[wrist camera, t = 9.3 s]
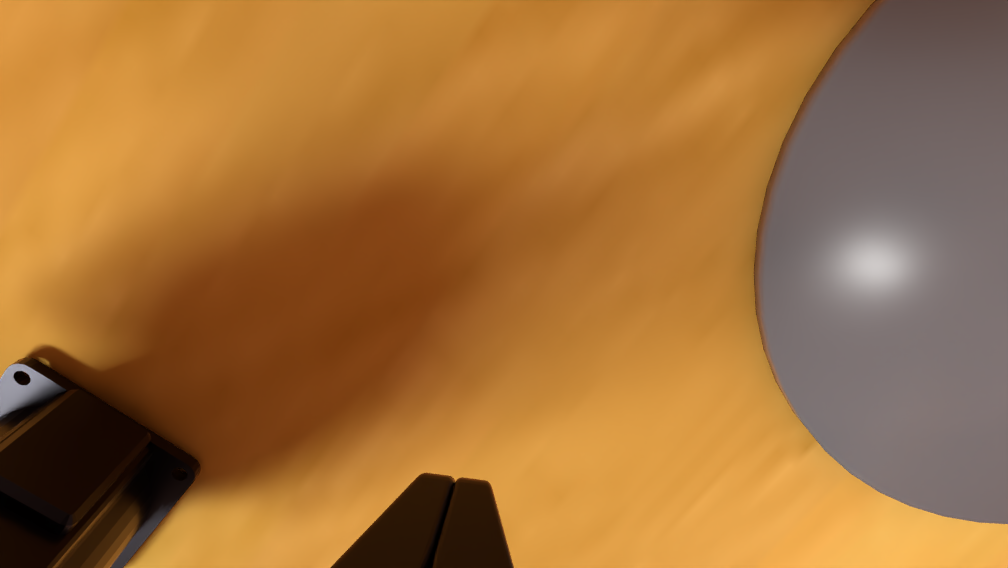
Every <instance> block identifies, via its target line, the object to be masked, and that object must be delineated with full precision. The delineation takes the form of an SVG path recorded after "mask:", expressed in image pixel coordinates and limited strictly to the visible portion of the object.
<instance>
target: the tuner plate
mask: <svg viewBox="0 0 1008 568" xmlns="http://www.w3.org/2000/svg"><path fill="white" fill-rule="evenodd" d="M754 286H755V304H756V315H757V320H758V324H759V329H760V334H761V339H762V344H763V349H764V351H765V354H766V357H767V359H768V362H769V365H770V367H771V370H772V373H773V375H774V378H775V380H776V383H777V384H778V386H779V388H780V390H781V391H782V393H783V395H784V397H785V398H786V400H787V402H788V404H789V405H790V407H791V409H792V411H793V412H794V413H795V414H796V416H797V417H798V418H799V419H800V421H801V422H802V423H803V424H804V425H805V427H806V428H807V429H808V430H809V432H810V433H811V434H812V435H813V437H814V438H815V439H816V440H817V441H818V443H819V444H820V445H821V446H822V448H823V449H824V450H825V451H826V452H827V453H828V454H829V455H830V456H832V457H833V458H834V459H835V460H836V461H837V462H838V463H839V464H840V465H842V466H843V467H844V468H845V469H846V470H847V471H848V472H849V473H851V474H852V475H854V476H855V477H857V478H858V479H860V480H861V481H863V482H865V483H866V484H868V485H869V486H871V487H872V488H874V489H875V490H877V491H878V492H880V493H883V494H885V495H887V496H889V497H891V498H894V499H896V500H898V501H900V502H902V503H904V504H907V505H909V506H912V507H915V508H918V509H921V510H925V511H928V512H931V513H934V514H938V515H941V516H945V517H951V518H957V519H962V520H968V521H974V522H981V523H999V524H1008V0H876V1H875V2H874V3H873V4H872V5H871V6H870V7H869V8H868V10H867V11H866V12H865V13H864V15H863V16H862V17H861V18H860V20H859V21H858V22H857V23H856V25H855V26H854V27H853V28H852V30H851V31H850V32H849V33H848V34H847V36H846V37H845V38H844V39H843V41H842V42H841V43H840V44H839V46H838V47H837V48H836V49H835V51H834V52H833V54H832V55H831V57H830V59H829V60H828V62H827V63H826V65H825V66H824V68H823V69H822V71H821V73H820V74H819V76H818V77H817V79H816V80H815V82H814V84H813V85H812V87H811V88H810V90H809V91H808V93H807V94H806V96H805V98H804V100H803V102H802V104H801V106H800V108H799V110H798V112H797V114H796V116H795V118H794V120H793V123H792V125H791V127H790V129H789V131H788V133H787V135H786V137H785V139H784V141H783V143H782V146H781V149H780V152H779V155H778V157H777V160H776V163H775V166H774V169H773V171H772V174H771V177H770V180H769V183H768V186H767V189H766V194H765V198H764V203H763V207H762V212H761V217H760V221H759V226H758V230H757V241H756V253H755V264H754Z"/></svg>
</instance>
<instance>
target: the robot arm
mask: <svg viewBox="0 0 1008 568" xmlns="http://www.w3.org/2000/svg"><path fill="white" fill-rule="evenodd" d="M23 372H26V373H27V374H28V375H29V376H30V378H27V377H26V376H25V375H24V373H23ZM178 468H182V469H184V470H185V471H186V472H187V473H184V472H181V471H180V470H179V469H178ZM199 472H200V465H199V463H198V461H197V460H196V459H195V458H194V457H192V456H191V455H189V454H187V453H186V452H184V451H183V450H181V449H179V448H178V447H176V446H175V445H173V444H171V443H170V442H168V441H166V440H165V439H163V438H162V437H160V436H158V435H157V434H155V433H154V432H152V431H150V430H149V429H147V428H146V427H144V426H142V425H141V424H139V423H137V422H136V421H134V420H133V419H131V418H129V417H128V416H126V415H125V414H123V413H121V412H120V411H118V410H116V409H115V408H113V407H112V406H110V405H108V404H107V403H105V402H104V401H102V400H100V399H99V398H97V397H96V396H94V395H92V394H91V393H89V392H87V391H86V390H84V389H83V388H81V387H79V386H78V385H76V384H75V383H73V382H71V381H70V380H68V379H67V378H65V377H63V376H62V375H60V374H58V373H57V372H55V371H54V370H52V369H50V368H49V367H47V366H46V365H44V364H42V363H41V362H39V361H37V360H35V359H33V358H23V359H20V360H18V361H17V362H15V363H13V364H12V365H10V366H9V367H8V368H7V369H6V371H5V372H4V374H3V375H2V377H1V378H0V568H123V567H124V566H125V565H126V563H127V562H128V561H129V560H130V559H131V557H132V556H133V555H134V554H135V552H136V551H137V550H138V549H139V548H140V546H141V545H142V544H143V543H144V541H145V540H146V539H147V538H148V537H149V535H150V534H151V533H152V532H153V530H154V529H155V528H156V527H157V526H158V524H159V523H160V522H161V521H162V519H163V518H164V517H165V516H166V515H167V513H168V512H169V511H170V510H171V508H172V507H173V506H174V505H175V504H176V502H177V501H178V500H179V499H180V497H181V496H182V495H183V494H184V493H185V491H186V490H187V489H188V488H189V486H190V485H191V484H192V483H193V481H194V480H195V479H196V477H197V476H198V474H199ZM331 568H514V566H513V563H512V559H511V556H510V552H509V548H508V545H507V541H506V537H505V534H504V530H503V526H502V523H501V519H500V515H499V512H498V508H497V504H496V501H495V497H494V494H493V490H492V487H491V485H490V483H489V482H488V481H485V480H477V479H470V478H459V479H457V481H456V482H455V480H454V478H452V477H451V476H447V475H439V474H431V473H423V474H421V475H419V476H418V477H417V478H416V479H415V480H414V481H413V482H412V483H411V484H410V485H409V486H408V487H407V489H406V490H405V491H404V492H403V493H402V494H401V495H400V496H399V497H398V498H397V499H396V500H395V501H394V502H393V503H392V504H391V505H390V506H389V507H388V508H387V509H386V510H385V511H384V512H383V514H382V515H381V516H380V517H379V518H378V519H377V520H376V521H375V522H374V523H373V524H372V525H371V526H370V527H369V528H368V529H367V530H366V531H365V532H364V533H363V534H362V535H361V536H360V537H359V539H358V540H357V541H356V542H355V543H354V544H353V545H352V546H351V547H350V548H349V549H348V550H347V551H346V552H345V553H344V554H343V555H342V556H341V557H340V558H339V559H338V560H337V561H336V562H335V564H334V565H333V566H332V567H331Z"/></svg>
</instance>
